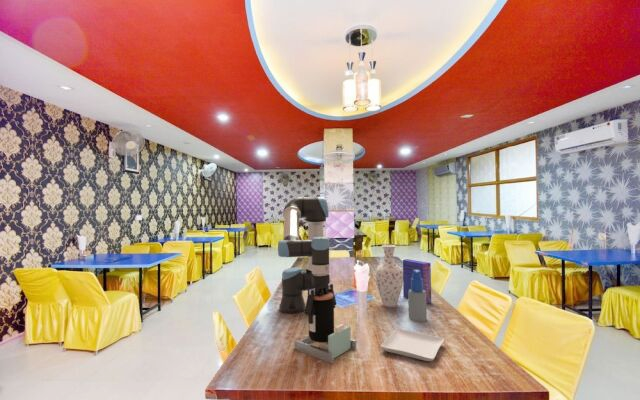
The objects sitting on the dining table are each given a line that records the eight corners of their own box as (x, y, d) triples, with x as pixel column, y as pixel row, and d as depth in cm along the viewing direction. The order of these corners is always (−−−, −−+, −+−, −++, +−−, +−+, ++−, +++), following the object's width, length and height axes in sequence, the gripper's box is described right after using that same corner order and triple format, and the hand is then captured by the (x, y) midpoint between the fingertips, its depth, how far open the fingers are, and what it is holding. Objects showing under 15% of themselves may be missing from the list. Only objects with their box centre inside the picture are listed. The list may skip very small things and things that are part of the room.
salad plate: (433, 367, 117) (433, 358, 117) (379, 353, 128) (379, 345, 128) (445, 345, 135) (445, 337, 135) (396, 335, 146) (396, 327, 146)
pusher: (328, 359, 123) (328, 330, 123) (348, 347, 133) (347, 320, 133) (330, 360, 122) (330, 331, 122) (350, 348, 132) (350, 321, 132)
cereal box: (431, 302, 193) (430, 262, 193) (426, 304, 190) (425, 263, 190) (408, 296, 207) (407, 258, 207) (403, 297, 204) (402, 259, 205)
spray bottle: (409, 315, 171) (408, 268, 172) (426, 316, 169) (425, 269, 169) (408, 320, 163) (407, 271, 163) (426, 322, 160) (425, 272, 160)
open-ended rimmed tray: (294, 348, 133) (294, 340, 133) (319, 336, 145) (319, 328, 145) (332, 363, 120) (332, 354, 120) (356, 349, 132) (356, 340, 132)
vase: (373, 307, 184) (372, 247, 185) (378, 299, 199) (378, 243, 199) (401, 311, 178) (400, 248, 178) (405, 302, 193) (404, 244, 193)
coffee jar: (336, 333, 138) (335, 291, 138) (332, 344, 127) (331, 298, 128) (312, 331, 140) (311, 290, 140) (306, 342, 129) (305, 297, 130)
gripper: (308, 280, 123) (309, 338, 123) (344, 270, 140) (344, 321, 140) (294, 277, 128) (295, 333, 127) (330, 268, 145) (331, 317, 145)
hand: (321, 327), depth 134 cm, fingers closed on coffee jar, 11 cm apart
